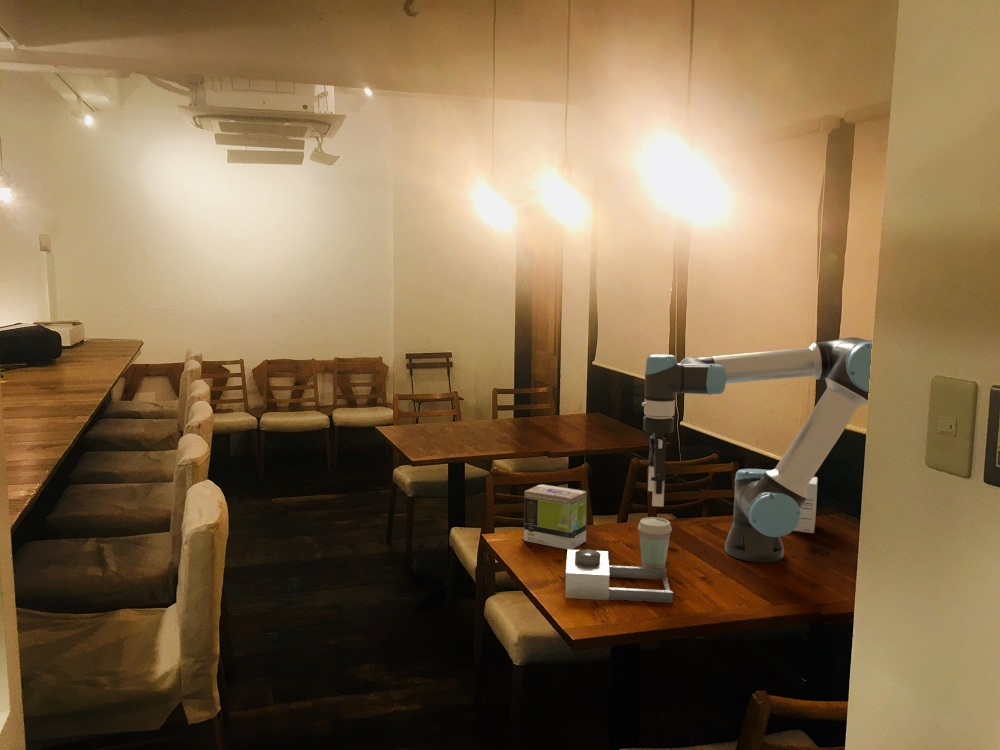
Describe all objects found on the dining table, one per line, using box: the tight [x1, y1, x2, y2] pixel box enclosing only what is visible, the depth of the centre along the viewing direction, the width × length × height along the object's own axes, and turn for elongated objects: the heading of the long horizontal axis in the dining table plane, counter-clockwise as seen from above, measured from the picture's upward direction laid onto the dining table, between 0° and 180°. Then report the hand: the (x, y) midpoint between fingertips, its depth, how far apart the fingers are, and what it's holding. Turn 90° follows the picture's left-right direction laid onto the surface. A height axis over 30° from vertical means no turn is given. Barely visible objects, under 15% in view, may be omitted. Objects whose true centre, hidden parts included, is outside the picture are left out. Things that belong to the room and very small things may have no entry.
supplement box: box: [792, 476, 818, 534], centre depth 240 cm, size 9×9×15 cm
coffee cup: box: [637, 516, 673, 568], centre depth 206 cm, size 8×8×12 cm
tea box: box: [523, 483, 588, 550], centre depth 225 cm, size 15×10×15 cm
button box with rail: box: [564, 548, 674, 604], centre depth 193 cm, size 24×16×8 cm, turn 84°
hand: (655, 498), depth 205 cm, fingers open, 13 cm apart
